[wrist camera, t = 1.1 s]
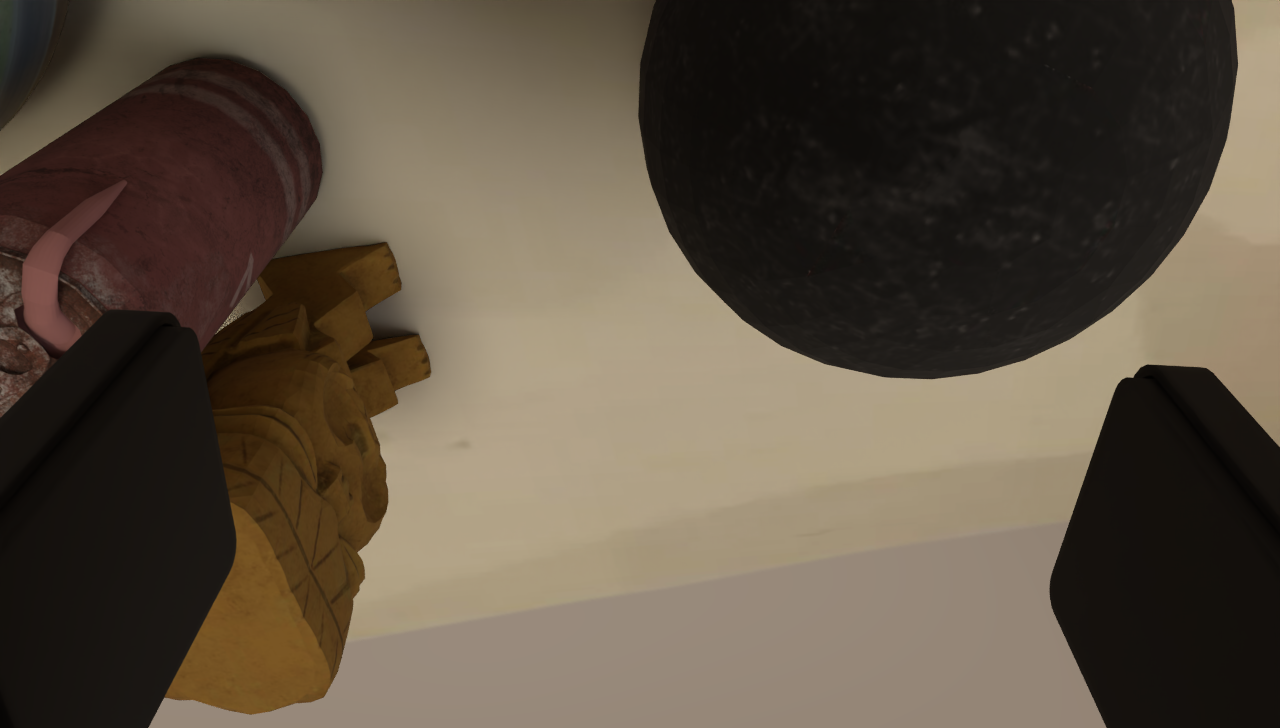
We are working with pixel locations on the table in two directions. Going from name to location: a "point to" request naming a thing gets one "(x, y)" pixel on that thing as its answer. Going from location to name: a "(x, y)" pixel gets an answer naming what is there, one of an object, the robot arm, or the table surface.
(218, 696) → the figurine
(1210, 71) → the black crystal ball
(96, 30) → the table surface
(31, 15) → the vase
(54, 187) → the can
